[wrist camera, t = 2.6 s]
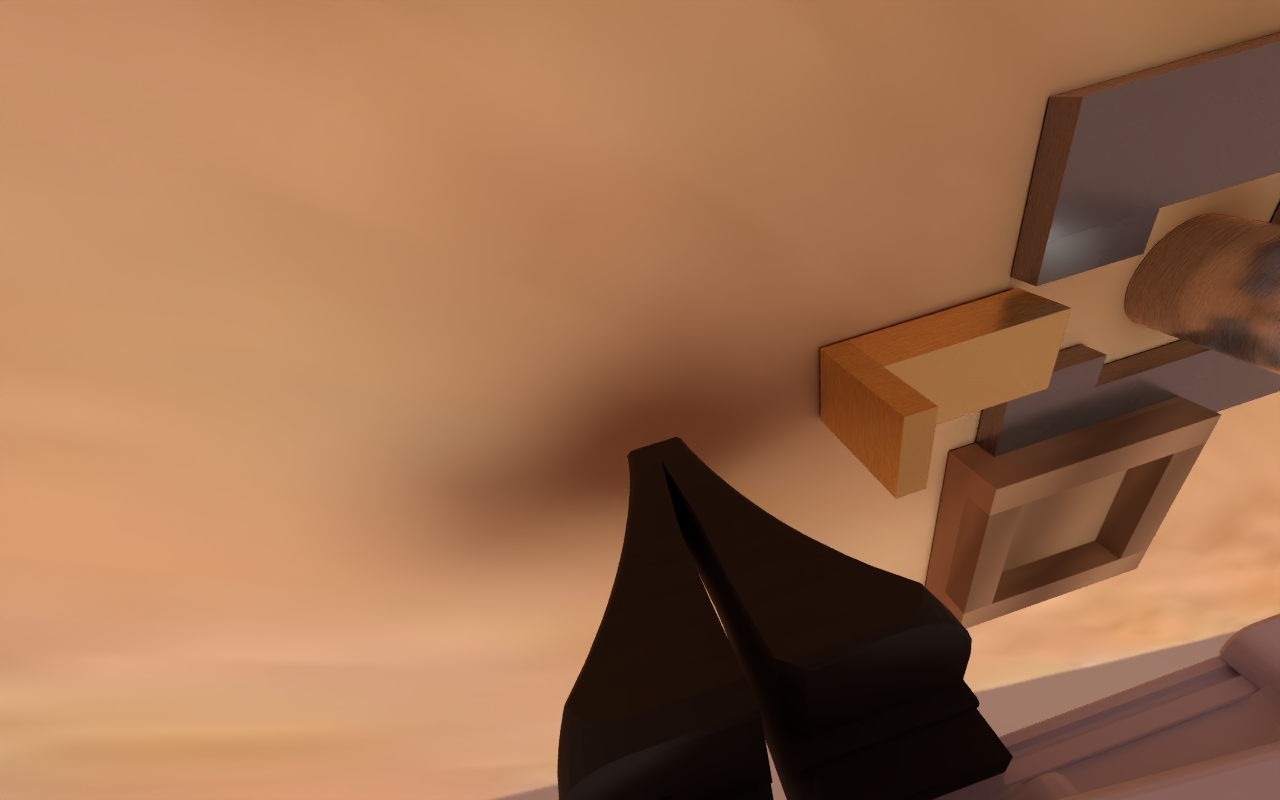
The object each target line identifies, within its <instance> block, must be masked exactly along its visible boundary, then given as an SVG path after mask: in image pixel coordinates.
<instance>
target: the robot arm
mask: <svg viewBox="0 0 1280 800" xmlns="http://www.w3.org/2000/svg"><path fill="white" fill-rule="evenodd" d="M627 457H628V461H629V468H630V495H629V508H628V518H627V524H626V531H625V537H624V543H623V548H622V553H621V558H620V562H619V566H618V570H617V574H616V578H615V581H614V585H613V588H612V591H611V595H610V598H609V601H608V604H607V607H606V610H605V613H604V616H603V619H602V622H601V624H600V627H599V629H598V632H597V634H596V637H595V639H594V642H593V644H592V647H591V649H590V652H589V654H588V657H587V659H586V661H585V664H584V666H583V668H582V670H581V672H580V674H579V676H578V678H577V680H576V682H575V684H574V687H573V689H572V691H571V693H570V695H569V697H568V699H567V701H566V703H565V705H564V711H563V717H562V723H561V730H560V739H559V748H558V772H557V773H558V790H559V800H773V794H772V788H771V783H772V777H771V771H770V765H769V759H768V753H767V747H766V743H767V745H768V748H769V751H770V754H771V757H772V759H773V762H774V765H775V768H776V771H777V773H778V776H779V779H780V782H781V784H782V787H783V790H784V793H785V796H786V798H787V800H1280V614H1277V615H1275V616H1272V617H1269V618H1267V619H1264V620H1261V621H1258V622H1256V623H1253V624H1251V625H1249V626H1247V627H1244V628H1243V629H1241V630H1240V631H1238V632H1237V633H1235V634H1234V635H1233V636H1232V637H1230V638H1229V639H1228V640H1227V641H1226V643H1225V644H1224V645H1223V647H1222V648H1221V650H1220V655H1219V656H1216V657H1214V658H1211V659H1208V660H1205V661H1203V662H1200V663H1197V664H1195V665H1192V666H1189V667H1187V668H1184V669H1182V670H1179V671H1176V672H1173V673H1171V674H1168V675H1165V676H1162V677H1160V678H1157V679H1154V680H1152V681H1149V682H1146V683H1144V684H1141V685H1138V686H1136V687H1133V688H1130V689H1127V690H1125V691H1122V692H1119V693H1117V694H1114V695H1111V696H1109V697H1106V698H1103V699H1101V700H1098V701H1095V702H1093V703H1090V704H1087V705H1084V706H1082V707H1079V708H1076V709H1074V710H1071V711H1068V712H1066V713H1063V714H1061V715H1058V716H1055V717H1052V718H1050V719H1047V720H1044V721H1041V722H1039V723H1036V724H1033V725H1031V726H1028V727H1025V728H1023V729H1020V730H1017V731H1015V732H1012V733H1009V734H1007V735H1004V736H1001V737H998V736H997V735H996V733H995V732H994V731H993V730H992V728H991V727H990V726H989V724H988V723H987V722H986V720H985V719H984V718H983V716H982V715H981V714H980V712H979V711H978V710H977V707H978V706H979V701H978V699H977V697H976V696H975V695H974V693H973V692H972V691H971V689H970V688H969V687H968V685H967V684H966V683H965V682H964V680H963V678H964V674H965V671H966V668H967V664H968V661H969V658H970V654H971V642H972V639H971V637H970V635H969V633H968V631H967V630H966V629H965V627H964V626H963V625H962V624H961V623H960V622H959V620H958V619H957V618H956V617H955V616H954V615H953V613H952V612H951V611H950V610H949V609H948V608H947V607H946V606H945V605H944V604H943V603H942V602H940V601H939V600H938V599H937V598H936V597H935V596H934V595H933V594H932V593H931V592H930V591H929V590H928V589H927V588H926V587H925V586H923V585H922V584H921V583H919V582H916V581H913V580H910V579H907V578H904V577H902V576H899V575H896V574H893V573H890V572H887V571H885V570H882V569H879V568H876V567H873V566H871V565H868V564H866V563H864V562H861V561H859V560H857V559H854V558H852V557H849V556H847V555H845V554H843V553H841V552H839V551H837V550H835V549H833V548H830V547H828V546H826V545H824V544H822V543H820V542H818V541H816V540H814V539H812V538H810V537H808V536H806V535H804V534H802V533H801V532H799V531H797V530H795V529H794V528H792V527H790V526H788V525H787V524H785V523H783V522H782V521H780V520H778V519H777V518H775V517H774V516H772V515H770V514H769V513H767V512H766V511H764V510H763V509H761V508H760V507H758V506H757V505H755V504H754V503H753V502H751V501H750V500H748V499H747V498H746V497H744V496H743V495H742V494H740V493H739V492H738V491H736V490H735V489H734V488H733V487H731V486H730V485H729V484H728V483H726V482H725V481H724V480H723V479H722V478H720V477H719V476H718V475H717V474H716V473H714V472H713V471H712V470H711V469H710V468H709V467H708V466H707V465H706V464H704V463H703V462H702V461H701V460H700V459H699V458H698V457H697V456H696V455H695V454H694V453H693V452H692V451H691V450H690V449H689V448H688V447H687V445H686V444H685V443H684V442H683V441H682V439H680V438H678V437H674V438H671V439H668V440H665V441H662V442H658V443H655V444H652V445H649V446H646V447H642V448H639V449H636V450H633V451H630V453H629V454H628V456H627ZM699 575H700V576H699ZM700 577H701V578H700ZM701 579H702V580H701ZM702 581H703V583H704V585H705V587H706V589H707V591H708V593H709V596H710V598H711V600H712V602H713V604H714V606H715V608H716V610H717V612H718V615H719V617H720V619H721V622H722V624H723V626H724V629H725V631H724V629H723V627H722V625H721V623H720V621H719V618H718V616H717V614H716V612H715V609H714V607H713V605H712V603H711V601H710V598H709V596H708V594H707V592H706V589H705V587H704V585H703V583H702ZM725 632H726V633H725ZM726 634H727V636H726ZM727 637H728V638H727ZM765 740H766V741H765Z"/></svg>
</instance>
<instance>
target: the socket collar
mask: <svg viewBox="0 0 1280 800" xmlns="http://www.w3.org/2000/svg"><path fill="white" fill-rule="evenodd" d="M1277 172H1280V32H1279V33H1276V34H1272V35H1268V36H1265V37H1261V38H1258V39H1254V40H1251V41H1247V42H1243V43H1240V44H1236V45H1233V46H1229V47H1226V48H1222V49H1219V50H1215V51H1211V52H1208V53H1204V54H1201V55H1197V56H1194V57H1190V58H1186V59H1183V60H1179V61H1176V62H1172V63H1169V64H1165V65H1161V66H1158V67H1154V68H1151V69H1147V70H1144V71H1140V72H1137V73H1133V74H1129V75H1126V76H1122V77H1119V78H1115V79H1112V80H1108V81H1104V82H1101V83H1097V84H1094V85H1090V86H1087V87H1083V88H1080V89H1076V90H1072V91H1069V92H1065V93H1062V94H1058V95H1055V96H1051V97H1050V98H1049V103H1048V108H1047V112H1046V117H1045V122H1044V126H1043V131H1042V136H1041V140H1040V145H1039V150H1038V154H1037V159H1036V164H1035V168H1034V173H1033V178H1032V182H1031V187H1030V192H1029V196H1028V201H1027V206H1026V210H1025V215H1024V220H1023V224H1022V229H1021V234H1020V238H1019V243H1018V248H1017V252H1016V257H1015V262H1014V266H1013V271H1012V276H1011V277H1012V278H1015V279H1018V280H1021V281H1023V282H1026V283H1029V284H1032V285H1034V286H1039V285H1042V284H1045V283H1048V282H1052V281H1055V280H1058V279H1061V278H1065V277H1068V276H1071V275H1075V274H1078V273H1081V272H1084V271H1088V270H1091V269H1094V268H1097V267H1101V266H1104V265H1107V264H1110V263H1114V262H1117V261H1120V260H1123V259H1127V258H1130V257H1133V256H1136V255H1140V254H1143V253H1144V250H1145V247H1146V244H1147V242H1148V239H1149V236H1150V233H1151V231H1152V228H1153V225H1154V222H1155V219H1156V217H1157V214H1158V211H1159V208H1161V207H1165V206H1168V205H1171V204H1175V203H1178V202H1181V201H1185V200H1188V199H1191V198H1194V197H1198V196H1201V195H1204V194H1208V193H1211V192H1214V191H1218V190H1221V189H1224V188H1228V187H1231V186H1234V185H1238V184H1241V183H1244V182H1248V181H1251V180H1254V179H1258V178H1261V177H1264V176H1268V175H1271V174H1274V173H1277ZM1271 223H1275V224H1280V205H1279V207H1278V209H1277V211H1276V213H1275V215H1274V217H1273V219H1272V221H1271ZM1106 356H1107V355H1105V354H1103V353H1101V352H1099V351H1096V350H1094V349H1092V348H1089V347H1087V346H1085V345H1082V344H1081V345H1078V346H1074V347H1071V348H1068V349H1065V350H1062V351H1059V352H1058V355H1057V359H1056V362H1055V365H1054V369H1053V372H1052V376H1051V379H1050V382H1049V386H1048V389H1045V390H1041V391H1038V392H1035V393H1032V394H1029V395H1026V396H1023V397H1020V398H1017V399H1014V400H1010V401H1007V402H1004V403H1001V404H998V405H995V406H992V407H989V408H986V409H983V411H982V416H981V420H980V425H979V430H978V434H977V439H976V444H978V445H979V446H980V447H982V448H983V449H984V450H986V451H987V452H988V453H990V454H991V455H992V456H994V457H996V456H999V455H1002V454H1005V453H1008V452H1011V451H1014V450H1017V449H1020V448H1023V447H1026V446H1029V445H1032V444H1035V443H1038V442H1041V441H1044V440H1047V439H1050V438H1053V437H1056V436H1059V435H1062V434H1065V433H1069V432H1072V431H1075V430H1078V429H1081V428H1084V427H1087V426H1090V425H1093V424H1096V423H1099V422H1102V421H1105V420H1108V419H1111V418H1114V417H1117V416H1120V415H1123V414H1126V413H1129V412H1132V411H1135V410H1138V409H1141V408H1144V407H1147V406H1151V405H1154V404H1157V403H1160V402H1163V401H1166V400H1169V399H1172V398H1175V397H1178V396H1181V397H1183V398H1185V399H1188V400H1190V401H1192V402H1194V403H1196V404H1199V405H1201V406H1203V407H1205V408H1208V409H1210V410H1212V411H1214V412H1218V411H1221V410H1224V409H1227V408H1230V407H1233V406H1236V405H1239V404H1242V403H1245V402H1248V401H1251V400H1254V399H1257V398H1260V397H1263V396H1266V395H1269V394H1272V393H1275V392H1278V391H1280V374H1277V373H1274V372H1271V371H1269V370H1266V369H1263V368H1260V367H1257V366H1255V365H1252V364H1249V363H1246V362H1243V361H1241V360H1238V359H1235V358H1232V357H1230V356H1227V355H1224V354H1221V353H1218V352H1216V351H1213V350H1210V349H1207V348H1204V347H1202V346H1199V345H1196V344H1193V343H1190V342H1188V341H1185V340H1181V341H1178V342H1174V343H1171V344H1168V345H1165V346H1162V347H1159V348H1156V349H1153V350H1150V351H1146V352H1143V353H1140V354H1137V355H1134V356H1131V357H1128V358H1125V359H1122V360H1118V361H1115V362H1112V363H1109V364H1106V365H1103V364H1104V361H1105V358H1106Z"/></svg>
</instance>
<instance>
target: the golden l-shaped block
mask: <svg viewBox="0 0 1280 800" xmlns="http://www.w3.org/2000/svg"><path fill="white" fill-rule="evenodd" d="M1070 311H1071V308H1070V307H1067V306H1065V305H1062V304H1059V303H1057V302H1054V301H1051V300H1049V299H1046V298H1043V297H1041V296H1038V295H1035V294H1033V293H1030V292H1027V291H1025V290H1022V289H1019V288H1016V289H1013V290H1010V291H1007V292H1003V293H1000V294H997V295H994V296H990V297H987V298H984V299H980V300H977V301H974V302H971V303H967V304H964V305H961V306H958V307H954V308H951V309H948V310H945V311H941V312H938V313H935V314H932V315H928V316H925V317H922V318H918V319H915V320H912V321H909V322H905V323H902V324H899V325H896V326H892V327H889V328H886V329H883V330H879V331H876V332H873V333H870V334H866V335H863V336H860V337H856V338H853V339H850V340H847V341H843V342H840V343H837V344H834V345H830V346H827V347H824V348H821V349H820V368H821V421H822V422H823V423H824V424H825V425H826V426H827V427H828V428H829V429H830V430H831V431H832V432H833V433H834V434H835V435H836V436H837V437H838V438H839V439H840V441H841V442H842V443H843V444H844V445H845V446H846V447H847V448H848V449H849V450H850V451H851V452H852V453H853V454H854V455H855V456H856V457H857V458H858V459H859V460H860V462H861V463H862V464H863V465H864V466H865V467H866V468H867V469H868V470H869V471H870V472H871V473H872V474H873V475H874V476H875V477H876V478H877V479H878V480H879V481H880V482H881V484H882V485H883V486H884V487H885V488H886V489H887V490H888V491H889V492H890V493H891V494H892V495H893V496H894V497H895V498H899V497H902V496H905V495H908V494H911V493H914V492H917V491H920V490H923V489H926V485H927V478H928V471H929V465H930V458H931V451H932V445H933V438H934V432H935V425H936V424H939V423H942V422H945V421H948V420H951V419H955V418H958V417H961V416H964V415H967V414H970V413H973V412H976V411H979V410H982V409H986V408H989V407H992V406H995V405H998V404H1001V403H1004V402H1007V401H1010V400H1014V399H1017V398H1020V397H1023V396H1026V395H1029V394H1032V393H1035V392H1038V391H1041V390H1045V389H1048V386H1049V382H1050V379H1051V376H1052V372H1053V369H1054V365H1055V362H1056V359H1057V355H1058V352H1059V349H1060V345H1061V342H1062V338H1063V335H1064V332H1065V328H1066V325H1067V322H1068V318H1069V315H1070Z"/></svg>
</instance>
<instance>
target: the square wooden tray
mask: <svg viewBox="0 0 1280 800" xmlns="http://www.w3.org/2000/svg"><path fill="white" fill-rule="evenodd" d="M1220 416H1221V414H1219V413H1217V412H1214V411H1212V410H1210V409H1208V408H1205V407H1203V406H1201V405H1199V404H1196V403H1194V402H1192V401H1190V400H1188V399H1185V398H1183V397H1181V396H1178V397H1175V398H1172V399H1169V400H1166V401H1163V402H1160V403H1157V404H1154V405H1151V406H1147V407H1144V408H1141V409H1138V410H1135V411H1132V412H1129V413H1126V414H1123V415H1120V416H1117V417H1114V418H1111V419H1108V420H1105V421H1102V422H1099V423H1096V424H1093V425H1090V426H1087V427H1084V428H1081V429H1078V430H1075V431H1072V432H1069V433H1065V434H1062V435H1059V436H1056V437H1053V438H1050V439H1047V440H1044V441H1041V442H1038V443H1035V444H1032V445H1029V446H1026V447H1023V448H1020V449H1017V450H1014V451H1011V452H1008V453H1005V454H1002V455H999V456H996V457H994V456H992V455H991V454H990V453H988V452H987V451H986V450H984V449H983V448H982V447H980V446H979V445H978V444H976V443H974V444H971V445H968V446H965V447H962V448H959V449H956V450H953V451H950V452H949V456H948V462H947V468H946V473H945V479H944V485H943V490H942V496H941V501H940V507H939V513H938V518H937V524H936V529H935V535H934V541H933V546H932V552H931V558H930V563H929V569H928V574H927V580H926V586H925V587H926V588H927V589H928V590H929V591H930V592H931V593H932V594H933V595H934V596H935V597H936V598H937V599H938V600H939V601H940V602H942V603H943V604H944V605H945V606H946V607H947V608H948V609H949V610H950V611H951V612H952V613H953V615H954V616H955V617H956V618H957V619H958V620H959V622H960V623H961V624H962V625H963V626H964V627H965V629H966V628H969V627H972V626H975V625H977V624H980V623H983V622H986V621H989V620H992V619H994V618H997V617H1000V616H1003V615H1006V614H1009V613H1011V612H1014V611H1017V610H1020V609H1023V608H1026V607H1029V606H1031V605H1034V604H1037V603H1040V602H1043V601H1046V600H1048V599H1051V598H1054V597H1057V596H1060V595H1063V594H1065V593H1068V592H1071V591H1074V590H1077V589H1080V588H1082V587H1085V586H1088V585H1091V584H1094V583H1097V582H1100V581H1102V580H1105V579H1108V578H1111V577H1114V576H1117V575H1119V574H1122V573H1125V572H1128V571H1131V570H1134V569H1136V568H1137V567H1138V565H1139V563H1140V561H1141V560H1142V558H1143V556H1144V554H1145V552H1146V550H1147V549H1148V547H1149V545H1150V543H1151V541H1152V540H1153V538H1154V536H1155V534H1156V532H1157V530H1158V529H1159V527H1160V525H1161V523H1162V521H1163V520H1164V518H1165V516H1166V514H1167V512H1168V511H1169V509H1170V507H1171V505H1172V503H1173V501H1174V500H1175V498H1176V496H1177V494H1178V492H1179V491H1180V489H1181V487H1182V485H1183V483H1184V482H1185V480H1186V478H1187V476H1188V474H1189V472H1190V471H1191V469H1192V467H1193V465H1194V463H1195V462H1196V460H1197V458H1198V456H1199V454H1200V453H1201V451H1202V449H1203V447H1204V445H1205V443H1206V442H1207V440H1208V438H1209V436H1210V434H1211V433H1212V431H1213V429H1214V427H1215V425H1216V423H1217V422H1218V420H1219V418H1220Z"/></svg>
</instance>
